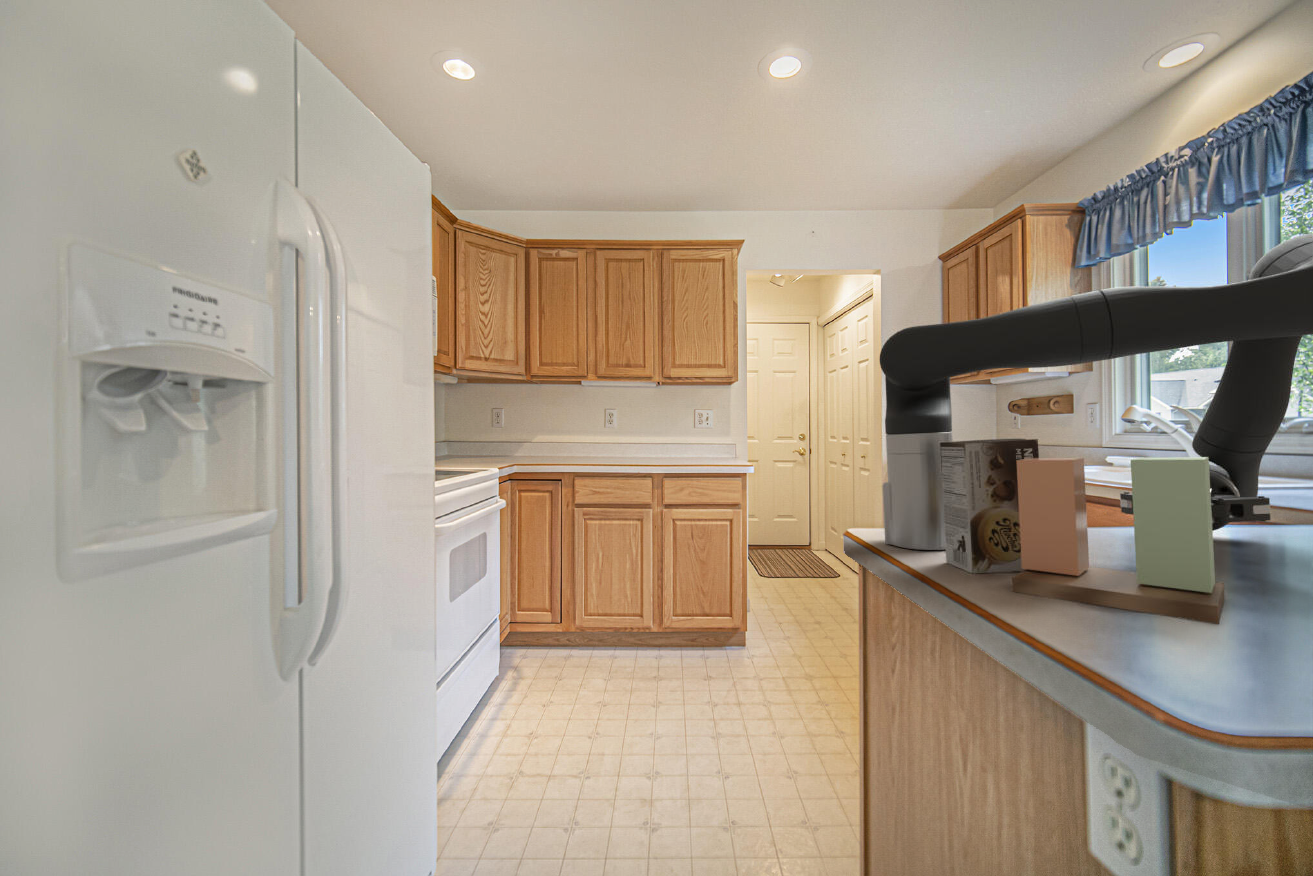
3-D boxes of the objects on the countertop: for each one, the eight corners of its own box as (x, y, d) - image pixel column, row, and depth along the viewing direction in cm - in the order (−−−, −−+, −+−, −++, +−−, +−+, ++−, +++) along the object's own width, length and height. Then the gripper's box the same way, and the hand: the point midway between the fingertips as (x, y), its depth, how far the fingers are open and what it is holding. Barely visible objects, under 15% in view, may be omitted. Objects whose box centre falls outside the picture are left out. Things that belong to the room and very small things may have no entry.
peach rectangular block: (1021, 568, 58) (1016, 460, 58) (1034, 560, 62) (1029, 458, 62) (1078, 575, 55) (1072, 460, 55) (1089, 567, 58) (1083, 457, 58)
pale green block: (1137, 583, 51) (1130, 459, 51) (1144, 573, 54) (1138, 457, 55) (1211, 593, 47) (1204, 459, 47) (1215, 581, 51) (1208, 457, 51)
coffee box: (1012, 559, 70) (1006, 438, 70) (1048, 571, 63) (1041, 437, 64) (943, 562, 70) (937, 441, 70) (971, 574, 64) (965, 440, 64)
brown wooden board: (1012, 591, 56) (1012, 577, 56) (1039, 573, 63) (1038, 561, 63) (1218, 624, 45) (1217, 606, 45) (1224, 598, 51) (1223, 582, 51)
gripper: (1277, 533, 62) (1280, 557, 51) (1128, 523, 72) (1104, 542, 61) (1273, 469, 63) (1276, 480, 51) (1125, 469, 73) (1100, 477, 61)
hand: (1182, 514), depth 56 cm, fingers closed
